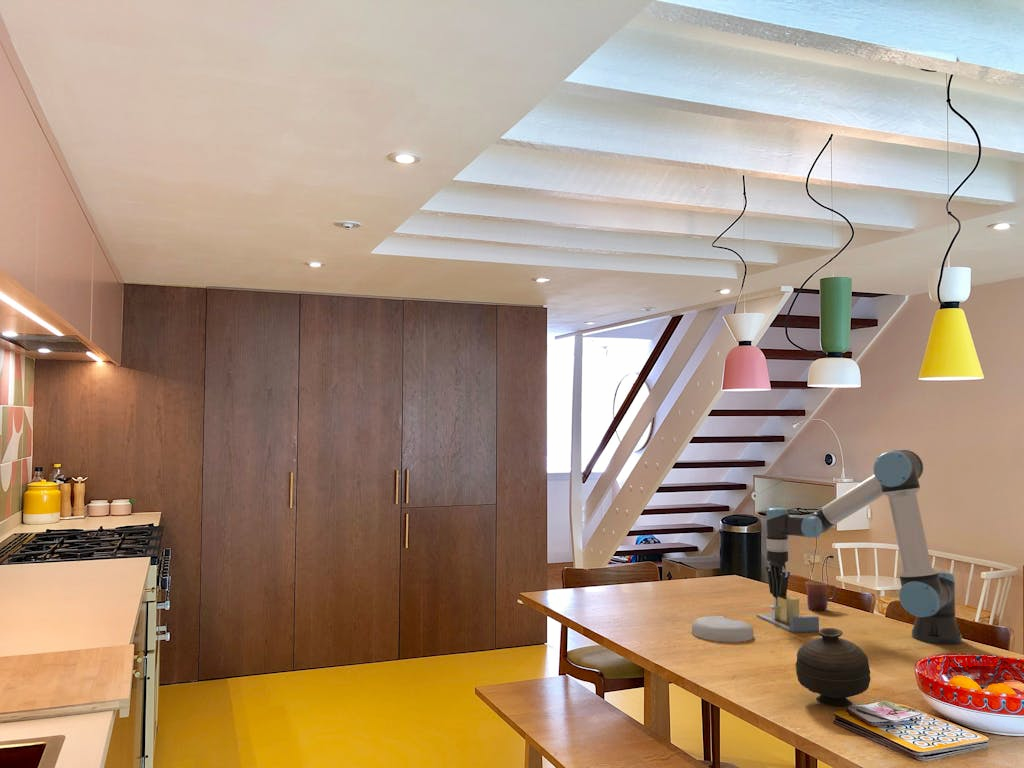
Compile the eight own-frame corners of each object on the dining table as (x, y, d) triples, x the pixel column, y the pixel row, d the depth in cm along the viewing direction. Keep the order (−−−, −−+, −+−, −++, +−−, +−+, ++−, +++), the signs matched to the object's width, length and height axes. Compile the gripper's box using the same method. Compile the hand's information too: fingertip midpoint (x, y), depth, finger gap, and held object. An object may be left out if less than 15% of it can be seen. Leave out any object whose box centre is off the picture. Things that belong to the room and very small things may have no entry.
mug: (808, 611, 323) (808, 585, 323) (803, 606, 332) (802, 580, 332) (840, 612, 322) (840, 585, 322) (834, 607, 330) (833, 581, 331)
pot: (801, 718, 205) (799, 636, 206) (791, 695, 222) (790, 620, 223) (878, 724, 201) (876, 640, 202) (863, 700, 218) (861, 623, 219)
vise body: (819, 634, 287) (818, 616, 288) (793, 636, 285) (792, 618, 286) (780, 618, 312) (780, 601, 312) (756, 619, 310) (756, 603, 310)
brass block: (799, 624, 295) (799, 599, 296) (786, 625, 294) (786, 599, 294) (790, 620, 301) (789, 595, 301) (777, 621, 300) (777, 596, 300)
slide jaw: (795, 620, 301) (795, 605, 302) (772, 621, 299) (772, 607, 300) (792, 619, 303) (792, 604, 304) (769, 620, 301) (769, 605, 302)
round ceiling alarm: (672, 632, 291) (672, 615, 292) (737, 628, 297) (737, 611, 298) (705, 651, 267) (705, 632, 267) (775, 646, 273) (774, 628, 273)
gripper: (796, 552, 300) (797, 618, 299) (777, 547, 313) (778, 610, 312) (777, 553, 298) (778, 619, 297) (759, 548, 311) (760, 611, 310)
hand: (778, 615), depth 304 cm, fingers closed
